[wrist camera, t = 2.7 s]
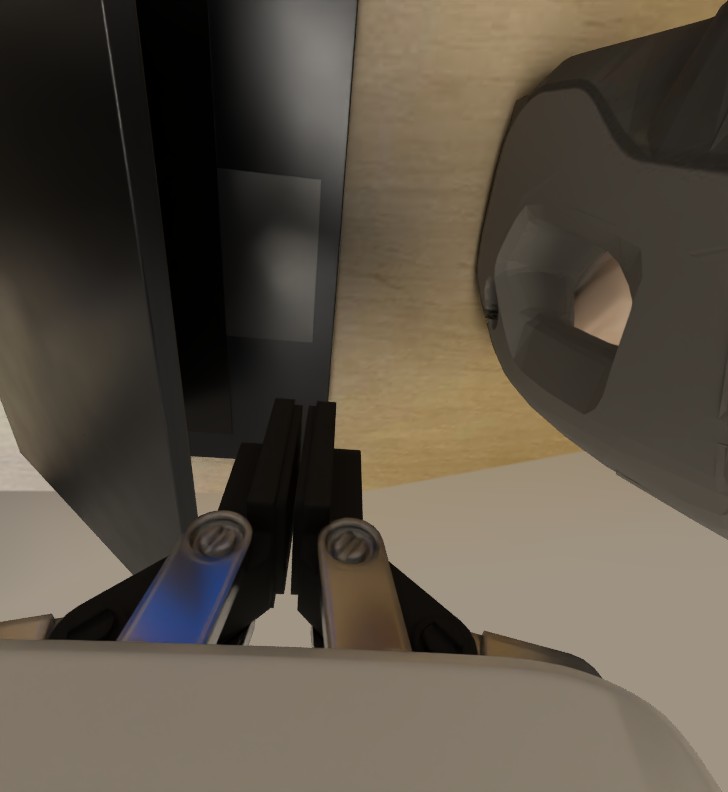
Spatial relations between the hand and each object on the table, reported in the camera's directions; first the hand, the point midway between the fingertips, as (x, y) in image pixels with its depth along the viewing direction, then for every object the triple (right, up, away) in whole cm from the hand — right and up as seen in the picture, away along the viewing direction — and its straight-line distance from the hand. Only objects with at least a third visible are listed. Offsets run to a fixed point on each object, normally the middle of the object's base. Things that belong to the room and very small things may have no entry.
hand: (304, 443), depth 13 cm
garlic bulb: (+16, +10, +12) cm, 23 cm away
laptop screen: (-12, +6, +7) cm, 16 cm away
